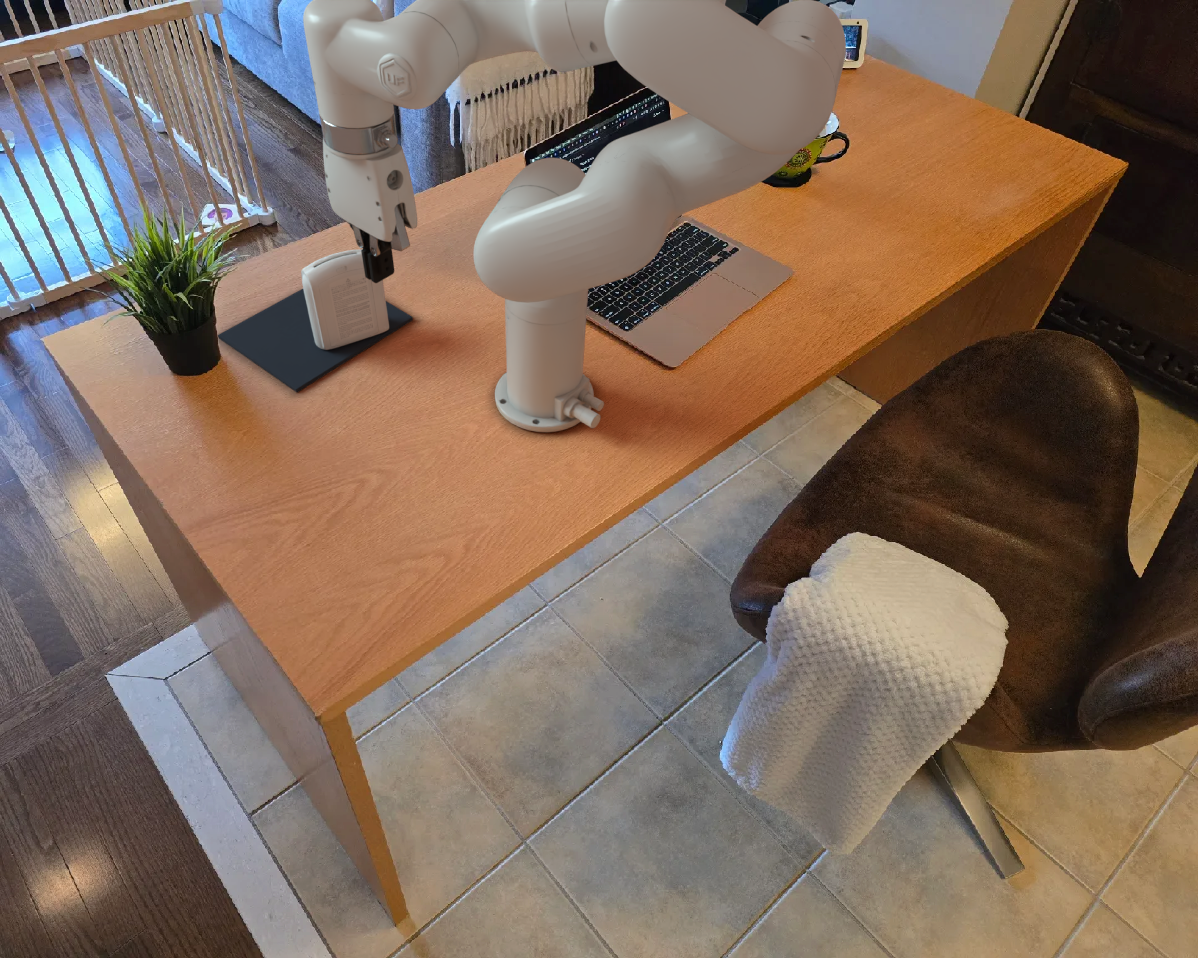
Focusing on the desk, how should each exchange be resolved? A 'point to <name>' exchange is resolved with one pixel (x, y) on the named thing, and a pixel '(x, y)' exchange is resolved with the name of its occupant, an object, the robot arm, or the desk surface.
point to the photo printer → (343, 300)
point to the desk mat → (297, 342)
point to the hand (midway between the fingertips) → (380, 275)
